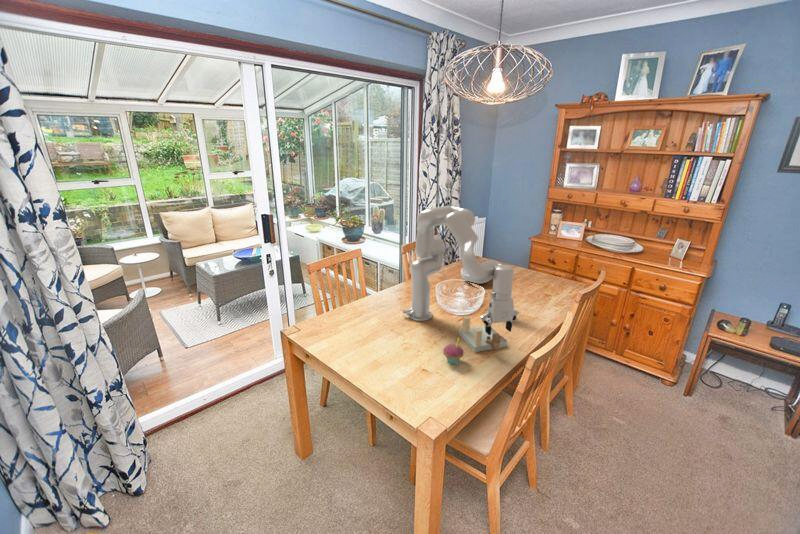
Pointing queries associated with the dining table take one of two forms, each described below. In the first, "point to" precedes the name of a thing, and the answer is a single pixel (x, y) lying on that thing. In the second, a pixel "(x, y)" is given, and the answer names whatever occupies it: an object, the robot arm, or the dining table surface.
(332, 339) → the dining table surface
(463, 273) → the serving bowl
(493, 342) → the folding leg
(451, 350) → the cupcake
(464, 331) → the stool seat
